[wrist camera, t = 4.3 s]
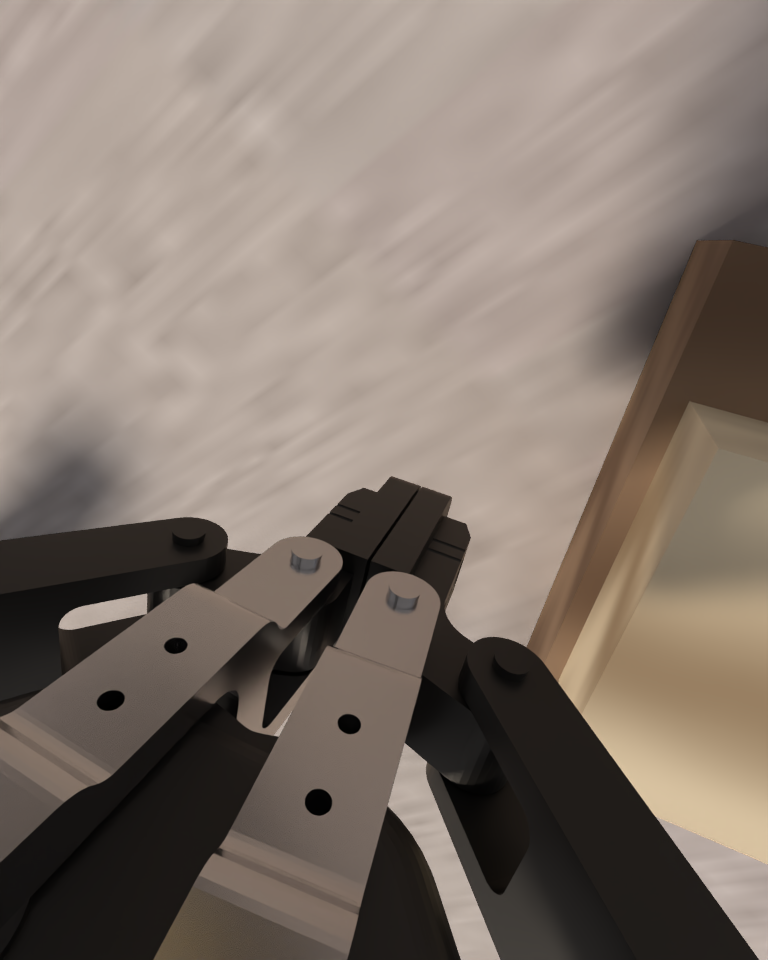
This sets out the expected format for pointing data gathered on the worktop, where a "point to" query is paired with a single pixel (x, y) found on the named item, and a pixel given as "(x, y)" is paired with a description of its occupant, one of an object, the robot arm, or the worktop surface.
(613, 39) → the worktop surface
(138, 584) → the robot arm
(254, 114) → the worktop surface
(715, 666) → the birch block
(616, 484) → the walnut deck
